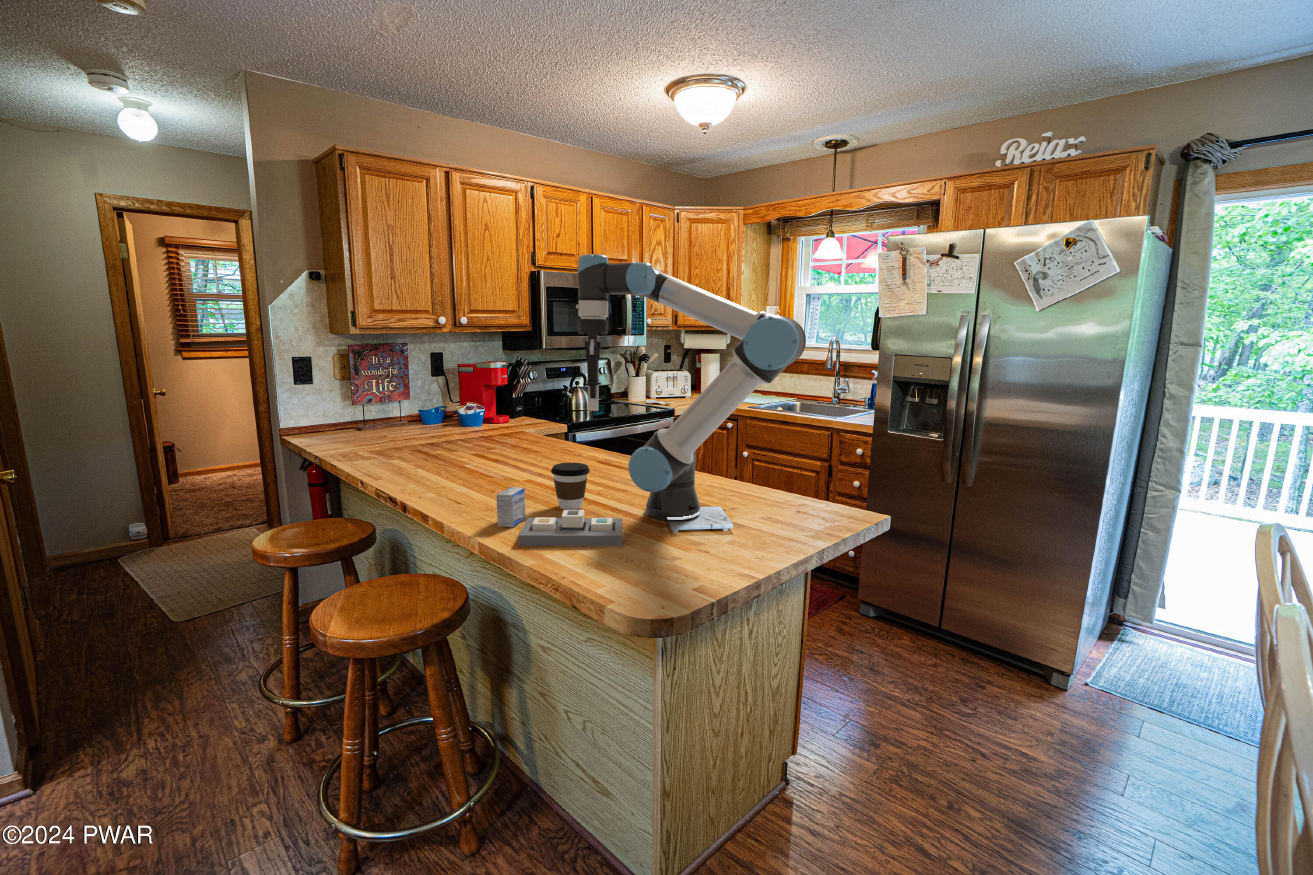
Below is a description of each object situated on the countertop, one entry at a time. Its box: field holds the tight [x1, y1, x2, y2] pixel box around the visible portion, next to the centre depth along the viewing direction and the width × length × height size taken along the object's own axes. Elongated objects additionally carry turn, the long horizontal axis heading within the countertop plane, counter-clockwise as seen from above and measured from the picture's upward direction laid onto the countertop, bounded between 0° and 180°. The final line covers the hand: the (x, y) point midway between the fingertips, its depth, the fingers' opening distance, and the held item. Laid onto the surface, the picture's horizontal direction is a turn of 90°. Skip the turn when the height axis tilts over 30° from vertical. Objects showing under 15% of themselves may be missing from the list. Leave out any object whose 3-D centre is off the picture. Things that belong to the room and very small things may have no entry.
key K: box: [561, 509, 585, 528], centre depth 145 cm, size 5×5×3 cm
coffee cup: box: [550, 462, 591, 511], centre depth 169 cm, size 11×11×12 cm
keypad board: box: [518, 517, 623, 547], centre depth 145 cm, size 24×13×3 cm, turn 93°
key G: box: [532, 516, 557, 531], centre depth 145 cm, size 5×5×3 cm
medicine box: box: [496, 486, 526, 529], centre depth 154 cm, size 8×4×9 cm, turn 168°
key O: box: [591, 517, 613, 531], centre depth 146 cm, size 5×5×3 cm
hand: (593, 410), depth 155 cm, fingers closed
